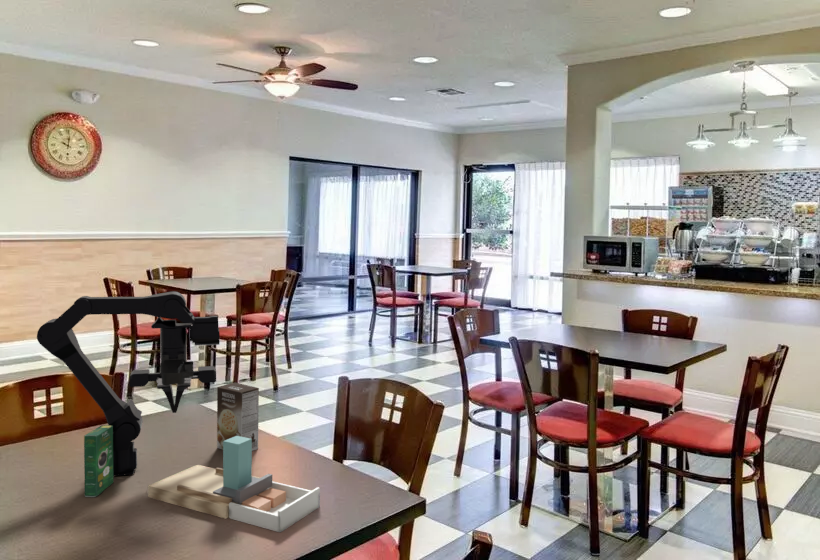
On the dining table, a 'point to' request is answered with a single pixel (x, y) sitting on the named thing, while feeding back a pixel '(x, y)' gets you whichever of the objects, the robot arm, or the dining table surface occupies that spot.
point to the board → (194, 490)
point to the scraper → (240, 471)
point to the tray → (279, 509)
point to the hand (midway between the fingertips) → (174, 412)
